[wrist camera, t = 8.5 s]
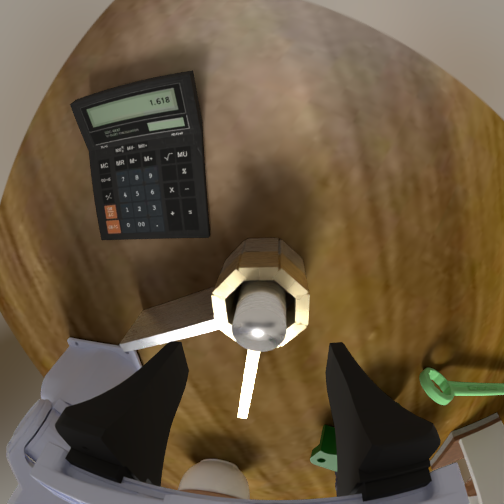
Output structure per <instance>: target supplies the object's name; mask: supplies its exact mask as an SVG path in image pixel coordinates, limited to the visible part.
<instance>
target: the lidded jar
mask: <svg viewBox="0 0 504 504" xmlns="http://www.w3.org/2000/svg"><path fill="white" fill-rule="evenodd" d="M178 491H183V492H189V493H195V494H201V495H208V496H216V497H225V498H235V499H249V498H250V492H249V485H248V482H247V479H246V477H245V476H244V474H243V473H242V472H241V471H240V470H239V469H238V467H237V466H236V465H235V464H233V463H231V462H228V461H225V460H220V459H204V460H202V461H200V463H197V464H195V465H193V466H192V467H191V468H189V469H188V470H187V471H186V473H185V474H184V476H183V477H182V480H181V482H180V485H179V488H178Z"/></svg>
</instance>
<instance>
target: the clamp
mask: <svg viewBox="0 0 504 504" xmlns="http://www.w3.org/2000/svg"><path fill="white" fill-rule="evenodd" d="M396 403H397V402H396ZM398 404H399V403H398ZM399 405H400V404H399ZM310 461H311V463H313V464H315V465H318V466H321V467H324V468H327V469H330V470H333V471H336V472H337V447H336V433H335V428H334V427H331V426H328V425H326V424H325V425H324V426H323V430H322V435H321V440H320V444H319V445H318V446H317V447H315V448H314V449H313V450H312V454H311V458H310Z"/></svg>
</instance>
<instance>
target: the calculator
mask: <svg viewBox="0 0 504 504" xmlns="http://www.w3.org/2000/svg"><path fill="white" fill-rule="evenodd" d="M70 105H71V108H72V111H73V113H74V116H75V119H76V121H77V124H78V126H79V129H80V131H81V134H82V136H83V138H84V141H85V143H86V146H87V148H88V150H89V158H90V168H91V176H92V184H93V192H94V199H95V205H96V212H97V217H98V223H99V229H100V234H101V239H102V240H122V239H160V238H209V237H210V228H209V217H208V205H207V192H206V178H205V163H204V147H203V129H202V119H201V113H200V108H199V102H198V97H197V91H196V85H195V80H194V74H193V71H187V72H181V73H175V74H170V75H165V76H160V77H155V78H150V79H146V80H141V81H137V82H133V83H129V84H125V85H122V86H118V87H114V88H111V89H107V90H104V91H101V92H98V93H94V94H91V95H88V96H85V97H82V98H80V99H77V100H75V101H74V102H73V103H71V104H70Z"/></svg>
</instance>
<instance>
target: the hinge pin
mask: <svg viewBox="0 0 504 504" xmlns="http://www.w3.org/2000/svg"><path fill="white" fill-rule="evenodd" d="M286 331H287V329H286V294H285V289H284V288H283V287H282V286H281V285H280V284H278V283H277V282H276V281H275V280H247V281H243V283H242V287H241V291H240V295H239V299H238V303H237V307H236V311H235V316H234V320H233V324H232V334H233V337H234V339H235V340H236V342H237V343H238V344H239V345H241V346H242V347H244V348H246V349H248V350H251V351H257V352H264V351H269V350H272V349H275V348H276V347H278V346H279V345H280V344H281V343H282V342H283V341H284V339H285V337H286Z"/></svg>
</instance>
